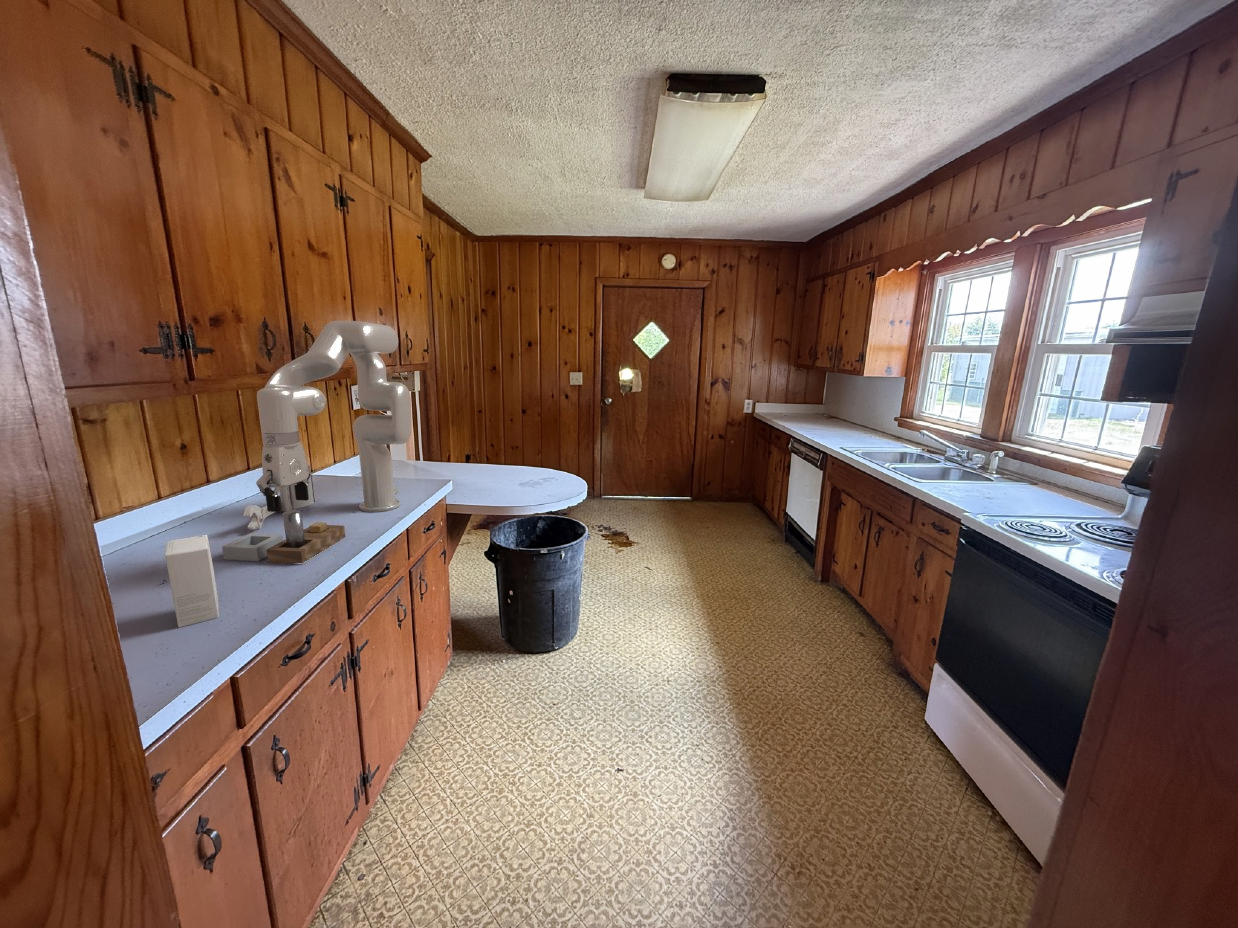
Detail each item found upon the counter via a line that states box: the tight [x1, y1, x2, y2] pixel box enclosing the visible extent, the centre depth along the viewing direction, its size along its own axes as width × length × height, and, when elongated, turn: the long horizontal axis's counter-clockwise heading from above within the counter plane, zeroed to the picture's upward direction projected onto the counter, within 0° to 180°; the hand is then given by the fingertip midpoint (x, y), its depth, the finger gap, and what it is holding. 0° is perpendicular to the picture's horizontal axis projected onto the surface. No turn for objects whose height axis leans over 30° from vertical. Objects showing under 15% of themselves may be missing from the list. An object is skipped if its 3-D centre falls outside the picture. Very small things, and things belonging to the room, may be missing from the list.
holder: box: [221, 532, 284, 562], centre depth 127 cm, size 9×9×4 cm
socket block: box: [266, 524, 346, 564], centre depth 130 cm, size 18×9×4 cm, turn 177°
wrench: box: [242, 504, 276, 531], centre depth 151 cm, size 8×2×30 cm
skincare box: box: [164, 534, 220, 628], centre depth 97 cm, size 8×7×16 cm
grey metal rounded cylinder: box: [281, 509, 306, 548], centre depth 125 cm, size 4×4×12 cm
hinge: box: [279, 473, 315, 512], centre depth 161 cm, size 14×5×10 cm, turn 177°
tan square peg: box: [308, 521, 328, 534], centre depth 134 cm, size 3×3×5 cm
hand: (289, 505), depth 122 cm, fingers open, 9 cm apart
